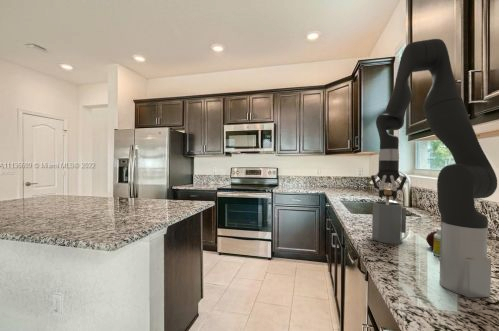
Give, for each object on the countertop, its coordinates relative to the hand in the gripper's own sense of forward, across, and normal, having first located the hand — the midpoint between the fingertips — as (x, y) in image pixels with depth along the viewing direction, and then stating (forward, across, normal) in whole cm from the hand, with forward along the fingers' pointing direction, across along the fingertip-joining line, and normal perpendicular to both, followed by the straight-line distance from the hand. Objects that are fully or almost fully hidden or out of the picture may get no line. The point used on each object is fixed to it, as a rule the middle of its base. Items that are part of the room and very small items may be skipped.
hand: (387, 198), depth 104 cm
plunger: (+14, 0, 0) cm, 14 cm away
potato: (+18, -18, +1) cm, 26 cm away
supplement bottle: (+18, -18, +10) cm, 27 cm away
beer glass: (+18, -2, -16) cm, 24 cm away
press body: (+18, -1, -1) cm, 18 cm away
